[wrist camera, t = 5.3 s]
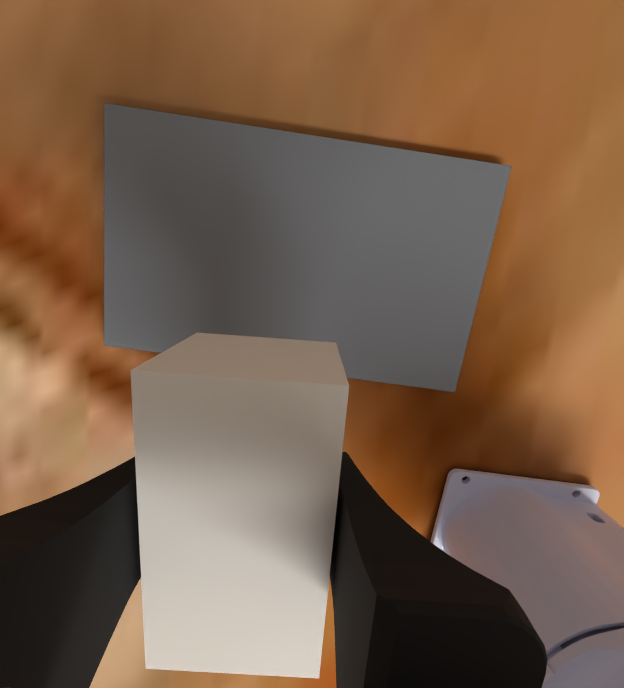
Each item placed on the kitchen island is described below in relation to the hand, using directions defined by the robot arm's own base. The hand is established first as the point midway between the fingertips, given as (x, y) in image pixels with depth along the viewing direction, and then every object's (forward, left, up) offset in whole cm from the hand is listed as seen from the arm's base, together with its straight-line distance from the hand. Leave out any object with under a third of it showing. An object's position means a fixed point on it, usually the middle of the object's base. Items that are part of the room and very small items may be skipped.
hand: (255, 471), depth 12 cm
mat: (0, -7, -8) cm, 11 cm away
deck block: (0, 0, -1) cm, 1 cm away
